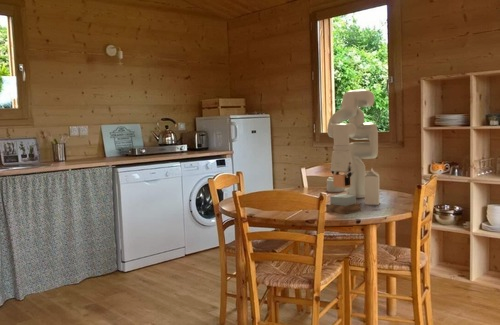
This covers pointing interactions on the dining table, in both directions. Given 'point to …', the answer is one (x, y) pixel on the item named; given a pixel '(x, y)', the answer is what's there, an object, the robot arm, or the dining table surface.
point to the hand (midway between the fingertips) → (342, 184)
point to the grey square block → (343, 199)
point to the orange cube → (340, 180)
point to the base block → (343, 208)
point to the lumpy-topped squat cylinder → (331, 186)
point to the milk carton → (372, 188)
